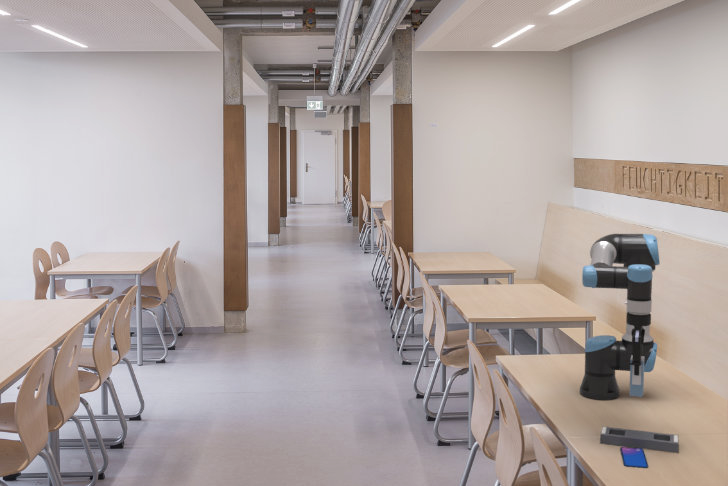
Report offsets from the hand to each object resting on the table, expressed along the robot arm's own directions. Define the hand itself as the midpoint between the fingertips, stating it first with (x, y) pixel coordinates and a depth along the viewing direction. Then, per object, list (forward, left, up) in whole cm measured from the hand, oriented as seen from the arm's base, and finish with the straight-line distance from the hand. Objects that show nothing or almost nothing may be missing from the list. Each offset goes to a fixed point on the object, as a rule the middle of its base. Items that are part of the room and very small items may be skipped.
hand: (637, 382), depth 248 cm
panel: (0, +1, -21) cm, 21 cm away
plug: (0, 0, -4) cm, 4 cm away
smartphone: (+13, 0, -21) cm, 25 cm away
